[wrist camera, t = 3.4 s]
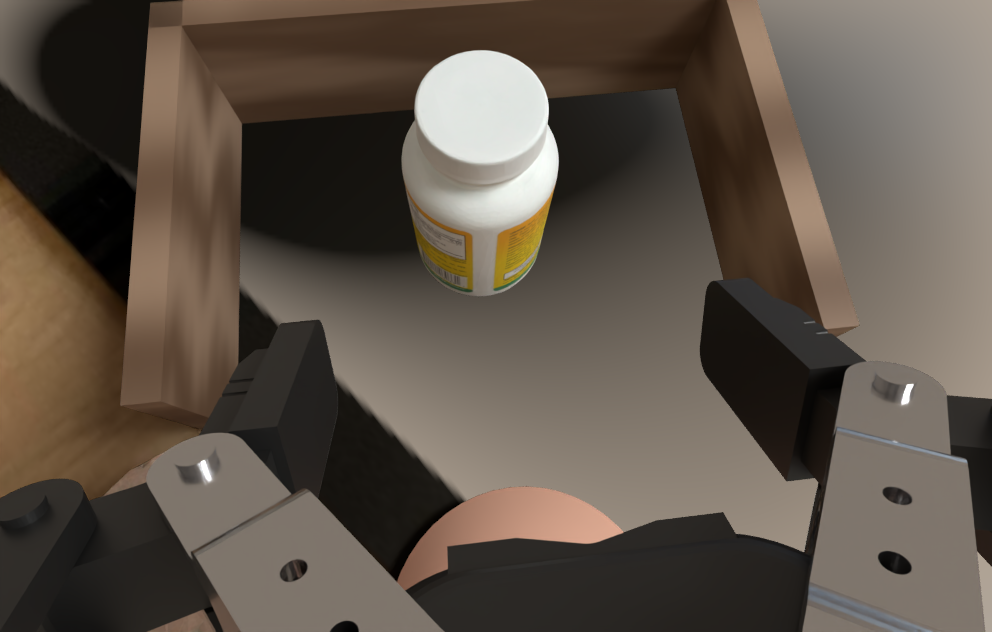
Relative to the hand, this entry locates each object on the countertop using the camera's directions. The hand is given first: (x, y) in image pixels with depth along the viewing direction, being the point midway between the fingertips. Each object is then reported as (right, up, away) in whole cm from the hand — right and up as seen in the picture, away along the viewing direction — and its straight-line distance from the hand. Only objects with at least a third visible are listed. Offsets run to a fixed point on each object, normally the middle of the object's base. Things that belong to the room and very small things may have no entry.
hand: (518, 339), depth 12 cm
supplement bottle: (-1, +4, +14) cm, 15 cm away
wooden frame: (-1, +4, +14) cm, 15 cm away
